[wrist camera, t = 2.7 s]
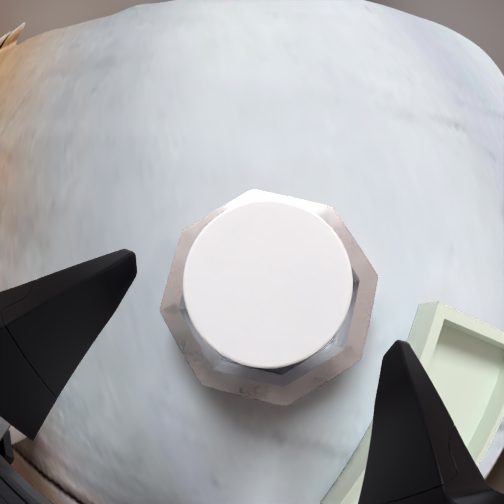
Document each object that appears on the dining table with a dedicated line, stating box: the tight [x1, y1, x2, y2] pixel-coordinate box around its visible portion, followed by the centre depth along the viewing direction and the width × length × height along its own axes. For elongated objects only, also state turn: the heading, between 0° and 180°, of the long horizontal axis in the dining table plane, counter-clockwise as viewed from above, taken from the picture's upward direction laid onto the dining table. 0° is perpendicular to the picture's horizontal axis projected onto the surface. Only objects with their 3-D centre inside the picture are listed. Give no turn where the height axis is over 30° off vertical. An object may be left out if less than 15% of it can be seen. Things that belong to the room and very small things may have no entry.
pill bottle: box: [183, 199, 353, 369], centre depth 12 cm, size 6×6×10 cm
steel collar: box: [160, 189, 378, 406], centre depth 16 cm, size 11×11×3 cm
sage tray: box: [320, 302, 504, 504], centre depth 13 cm, size 16×11×2 cm
